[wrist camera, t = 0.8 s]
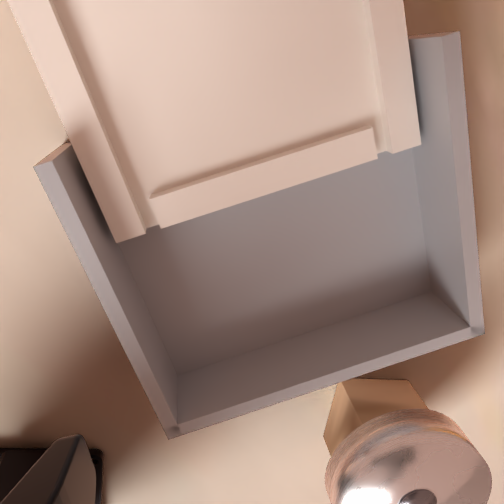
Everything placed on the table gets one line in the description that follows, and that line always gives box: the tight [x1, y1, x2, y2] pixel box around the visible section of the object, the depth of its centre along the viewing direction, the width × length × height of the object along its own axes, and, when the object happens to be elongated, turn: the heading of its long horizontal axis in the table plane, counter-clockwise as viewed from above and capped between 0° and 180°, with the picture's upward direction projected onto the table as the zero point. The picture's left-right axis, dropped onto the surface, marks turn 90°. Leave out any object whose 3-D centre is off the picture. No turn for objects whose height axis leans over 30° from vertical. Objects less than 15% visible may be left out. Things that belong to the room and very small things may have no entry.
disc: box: [325, 408, 492, 504], centre depth 21 cm, size 7×7×2 cm
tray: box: [7, 0, 421, 243], centre depth 15 cm, size 12×12×4 cm
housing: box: [33, 31, 485, 440], centre depth 19 cm, size 12×14×4 cm
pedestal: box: [323, 378, 429, 456], centre depth 24 cm, size 4×4×4 cm
